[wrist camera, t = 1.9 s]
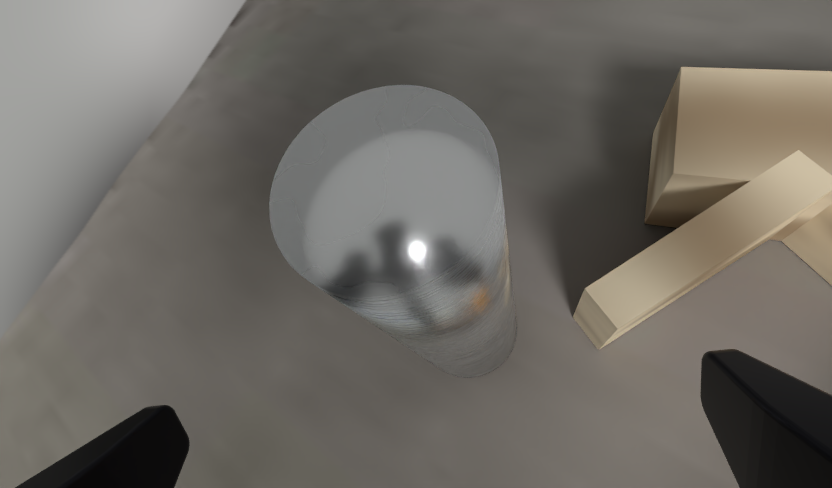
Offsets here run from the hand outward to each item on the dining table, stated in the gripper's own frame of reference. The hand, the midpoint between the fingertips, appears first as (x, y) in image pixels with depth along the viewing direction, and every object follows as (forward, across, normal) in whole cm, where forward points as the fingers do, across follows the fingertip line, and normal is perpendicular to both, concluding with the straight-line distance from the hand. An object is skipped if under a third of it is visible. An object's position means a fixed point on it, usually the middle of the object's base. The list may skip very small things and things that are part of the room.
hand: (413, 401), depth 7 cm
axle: (+10, 0, +5) cm, 11 cm away
